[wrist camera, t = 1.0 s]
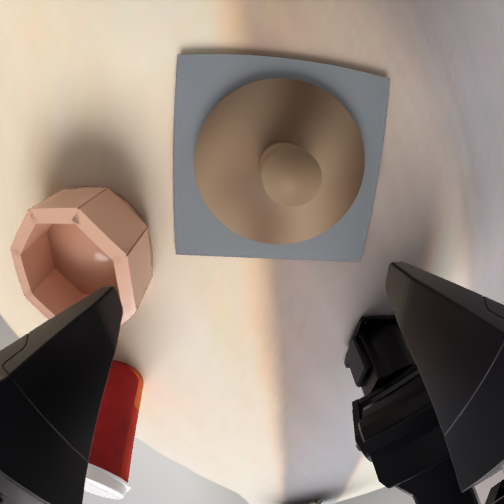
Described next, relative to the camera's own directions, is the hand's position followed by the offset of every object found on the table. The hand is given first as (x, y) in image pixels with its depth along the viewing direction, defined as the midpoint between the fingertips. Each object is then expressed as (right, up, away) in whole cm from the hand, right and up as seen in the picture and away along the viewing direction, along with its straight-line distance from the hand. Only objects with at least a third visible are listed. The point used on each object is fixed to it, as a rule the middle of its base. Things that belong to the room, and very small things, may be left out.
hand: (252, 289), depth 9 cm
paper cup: (-15, -13, +20) cm, 28 cm away
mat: (+2, +7, +10) cm, 13 cm away
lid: (+2, +7, +10) cm, 12 cm away
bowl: (-13, +2, +12) cm, 18 cm away
